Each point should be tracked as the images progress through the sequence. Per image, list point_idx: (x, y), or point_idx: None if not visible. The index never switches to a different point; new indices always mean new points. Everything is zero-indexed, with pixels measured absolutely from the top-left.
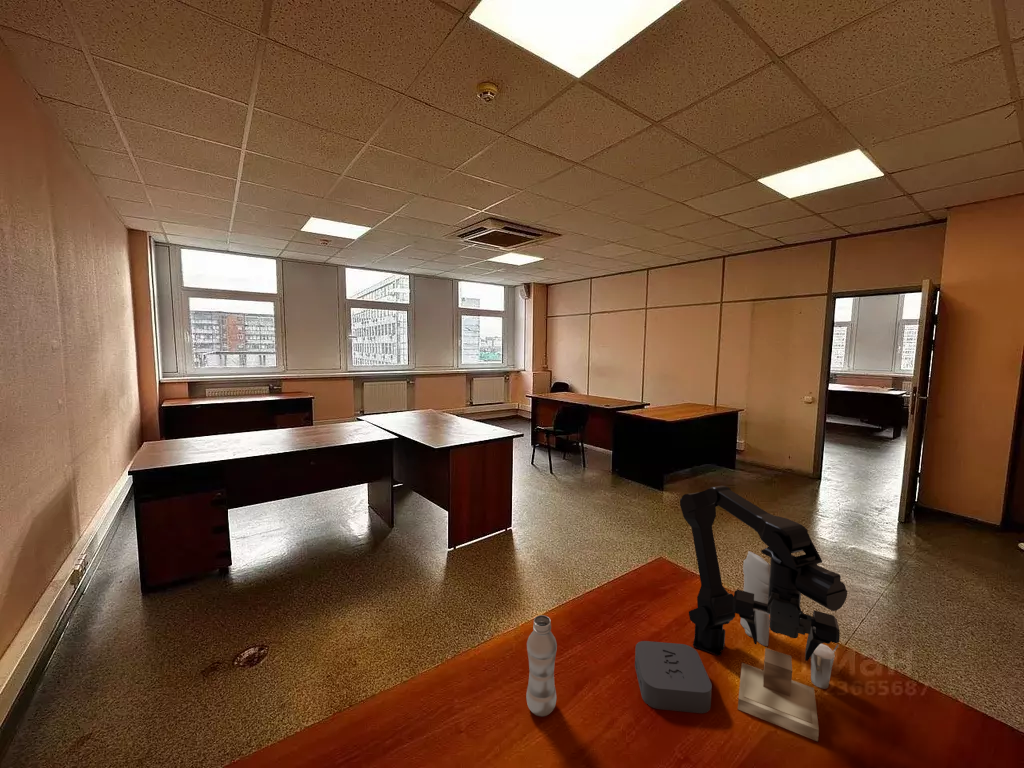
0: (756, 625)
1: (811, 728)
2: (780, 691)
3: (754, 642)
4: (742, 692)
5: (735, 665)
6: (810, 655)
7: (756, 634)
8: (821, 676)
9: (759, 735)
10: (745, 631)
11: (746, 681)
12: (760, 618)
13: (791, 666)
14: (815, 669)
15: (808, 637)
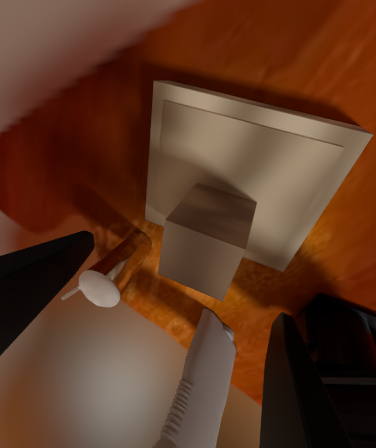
0: (263, 429)
1: (170, 84)
2: (216, 191)
3: (294, 324)
4: (338, 168)
5: (289, 271)
6: (46, 242)
7: (291, 380)
8: (127, 245)
9: (334, 25)
10: (233, 336)
11: (301, 213)
12: (202, 365)
13: (164, 237)
14: (131, 256)
15: (7, 328)
